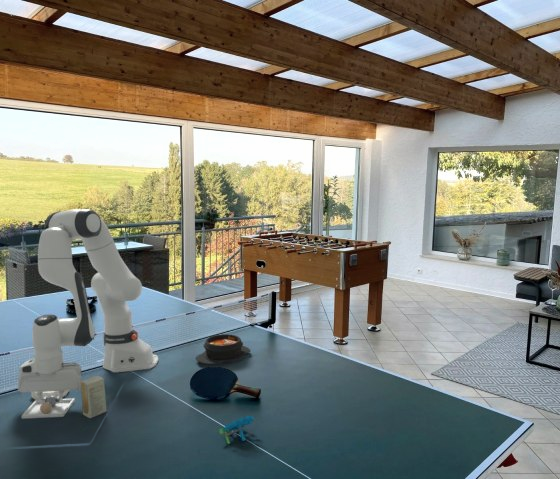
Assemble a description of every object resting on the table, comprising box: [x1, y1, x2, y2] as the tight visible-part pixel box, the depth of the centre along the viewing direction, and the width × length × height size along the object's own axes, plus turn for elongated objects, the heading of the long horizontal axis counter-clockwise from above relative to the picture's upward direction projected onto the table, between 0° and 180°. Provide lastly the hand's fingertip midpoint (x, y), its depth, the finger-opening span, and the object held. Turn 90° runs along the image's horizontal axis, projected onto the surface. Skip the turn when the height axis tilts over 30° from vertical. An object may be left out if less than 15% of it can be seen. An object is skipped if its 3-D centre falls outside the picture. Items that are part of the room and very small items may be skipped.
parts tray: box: [20, 397, 76, 419], centre depth 165 cm, size 13×11×2 cm
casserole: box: [195, 333, 252, 366], centre depth 211 cm, size 25×19×8 cm
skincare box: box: [80, 375, 107, 419], centre depth 162 cm, size 6×4×12 cm
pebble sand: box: [40, 402, 52, 414], centre depth 163 cm, size 4×4×4 cm
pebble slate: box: [46, 395, 57, 406], centre depth 168 cm, size 4×4×4 cm
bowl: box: [30, 390, 71, 401], centre depth 177 cm, size 12×12×4 cm
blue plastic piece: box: [218, 415, 254, 445], centre depth 147 cm, size 11×6×10 cm
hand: (51, 402), depth 168 cm, fingers closed on pebble slate, 4 cm apart
